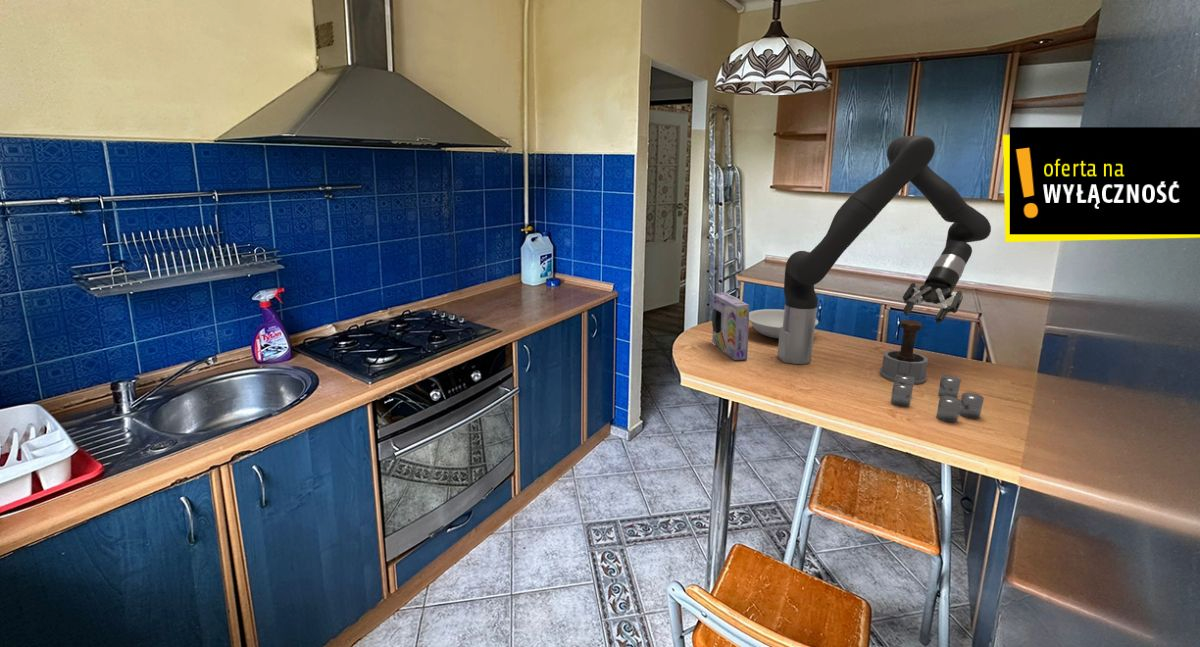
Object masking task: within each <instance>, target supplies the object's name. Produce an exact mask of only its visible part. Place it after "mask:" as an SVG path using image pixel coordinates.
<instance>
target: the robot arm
mask: <svg viewBox="0 0 1200 647" xmlns="http://www.w3.org/2000/svg"><path fill="white" fill-rule="evenodd" d="M935 149H936V146H935V142H934V140H933V139H932V138H931V137H928V136H925V135H905V136H904V135H903V136H900V137H897V138H895V139H894V140H893V141H891V143H890V144H889V146H888V147H887V150H886V158H887V161H888V162H889V164H890V165H888V167H887V168H885V170H884V171H883V172H881V173H880V174H879V175H877V176H876V177H875V178H873V179H872V180H870V181H868V182H867V183H865V184H864V185H863V186H861V187H859V188H858V189H857V190H855V192H853V193H852V194H851V195H850V196H848V199H846V200H845V202H843V203H842V205H841V206H840V208H838V210H837V211H836V213H835V215H834V216H833V218H832V221H831V223H830V225H829V227H828V230H827V232H826V234H825V236H824V237H823V238H822V239H821V240H820V242H819V243H818V244H817V245H816V246H815V247H814V248H813V249H812V250H811V251H806V250H799V251H796V252H793V253H792V254H790V256H789V257H788V258H787V261H786V263H785V269H784V280H783V282H784V283H783V295H784V299H785V300H784V309H783V310H784V318H783V327H780V335H779V339H778V345H777V346H778V347H777V357H778V358H779V360H780V361H781V362H783V363H787V364H792V365H806V364H810V363H811V361H812V354H813V346H814V339H815V329H816V326H815V322H816V319H817V312H818V305H819V298H818V296H817V293H816V290H815V285H818V283H820V282H821V281H822V280H823V279H824V278H825V277H826V275H827V274H828V273H829V271H830V270H831V269H832V268H833V266H834V265H835V264H836V262H837V261H838V259H839V258H840V257H841V256H842V254H843V253H844V252H845V251H846V250H847V249H848V248H849V247H850V245H851V244H852V243H853V242H854V241H856V239H857V238H858V237H859V236H860V235H861V234H862V232H864V230H865V229H866V228H868V226H870V224H871V223H872V222H874V220H875V218H877V216H878V215H879V214H880V213H881V211H882V210H883V209H884V208H886V206H887V205H888V204H889V203H890V202H891V201H892V200H893V199H894V197H895V196H896V195H897V194H899V192H900V191H901V190H902V189H903V188H904V187H905V186H906V185H907V184H909V182H910V183H911V184H912V185H914V187H915V188H916V189H917V190H918V191H919V192H920V193H921V194H922V195H923V197H925V198H926V200H927V201H928V202H929V204H931V206H932V207H933V208H934V209H935V210H936V212H937V213H938V214H939V216H940V217H941V218H942V219H943V221H945V222H947V223H951V225H950V226H949V228H948V230H947V235H946V242H945V246H944V248H943V250H942V252H941V253H940V255H939V257H938V259H937V260H936V261H935V263H934V264H933V265H932V266H933V267H932V268H931V269H930V271H929V274H928V275H927V277H926V279H925V281H924V283H923V284H922V285H921V286H920V285H916V283H915V282H912V283H911V284H909V286H908V288H907V290H906V291H905V292H904V294H903V296H902V300H903V303H904V304H905V306H904V308H903V310H902V311H903V314H904V316H905V317H909V316H910V314H911V313H912V310H913V309H914V306H916V305H917V304H922V303H924V302H925V303H930V304H931V303H932V304H935V305H938V304H940V305H941V308H940V309H939V310H938V312H937V315H936V317H935V322H936V323H937V324H940V323H941V322H943V321H944V320H945V318H946V317H947V314H949V313H953V314H955V313H957V312H958V310H959V308H960V306H961V303H962V301H963V297H964V296H963V292H962V291H961V290H957V291H954V290H955V288H956V286H957V284H958V282H959V281H960V279H961V278H962V275H963V273H964V270H965V268H966V265H967V263H968V262H969V260H970V258H971V256H972V253H973V249H972V248H973V247H972V246H971V245H970V244H969V243H974V242H979V241H983V240H986V239H987V238H988V237H989V236H990V235H991V231H992V226H991V223H990V221H989V219H988V218H987V217H986V216H985V215H983V214H982V213H981V212H979V211H978V210H976V208H974V207H972V206H970V205H969V204H968V203H967V202H966V201H965V199H964V198H963V197H962V196H961V194H960V193H959V191H957V189H956V188H955V187H953V185H952V184H950V183H949V182H948V181H947V180H945V179H944V178H942V177H941V176H940V175H939V174H937V173H936V172H934V170H933V169H932V168H930V166H929V163H930V162H931V161H932V160H933V157H934V155H935V151H936V150H935ZM950 298H952V302H951V304H950V305H948V303H947V301H946V300H948V299H950Z"/></svg>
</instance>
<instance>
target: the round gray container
mask: <svg viewBox="0 0 1200 647" xmlns="http://www.w3.org/2000/svg"><path fill="white" fill-rule="evenodd" d="M900 351H901V349H890V350H886V351H884V352H883V357H882V358H883V359H882V364H881V367H880V368H879V372H878V373H879V374H878V375H879V376H880V377H882V378H883V379H886V380H888V381H890V380H891V381H892V382H893V383H895V377H896V374H899V373H903V374H909V375H912V376H914V378H915V379H914V385H921V384H925V383H926V382H927V378H928V376H927V367H928V364H929V358H928V357H927V356H925V355H923V354H920V353H917V352H914V351H913V355H914V356H915V360H914V362H906V361H900V360H897V359H896V357H897V354H898V353H900Z"/></svg>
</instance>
